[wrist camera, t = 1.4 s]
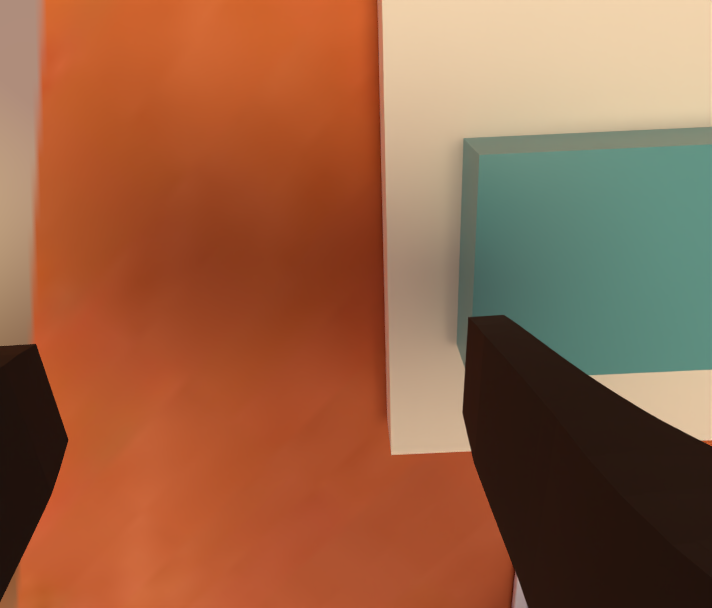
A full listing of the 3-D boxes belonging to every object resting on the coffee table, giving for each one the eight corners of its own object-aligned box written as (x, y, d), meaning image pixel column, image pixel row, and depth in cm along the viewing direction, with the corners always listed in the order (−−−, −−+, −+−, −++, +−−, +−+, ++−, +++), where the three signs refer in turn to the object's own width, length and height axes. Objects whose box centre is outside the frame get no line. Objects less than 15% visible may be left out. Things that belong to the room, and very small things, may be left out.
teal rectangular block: (793, 328, 18) (842, 363, 17) (456, 344, 18) (469, 380, 17) (855, 120, 16) (922, 135, 14) (463, 138, 16) (479, 155, 14)
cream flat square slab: (782, 399, 22) (822, 435, 20) (387, 418, 22) (391, 454, 20) (923, -57, 16) (998, -66, 14) (376, -33, 16) (381, -38, 14)
